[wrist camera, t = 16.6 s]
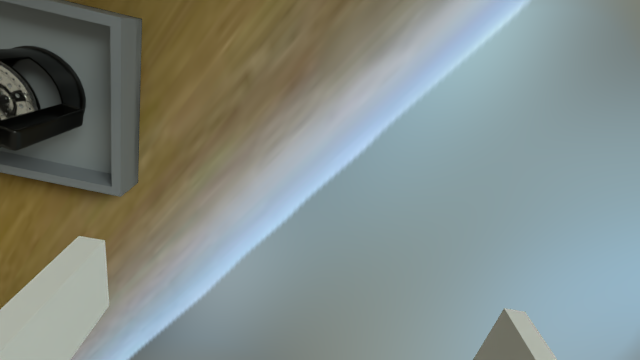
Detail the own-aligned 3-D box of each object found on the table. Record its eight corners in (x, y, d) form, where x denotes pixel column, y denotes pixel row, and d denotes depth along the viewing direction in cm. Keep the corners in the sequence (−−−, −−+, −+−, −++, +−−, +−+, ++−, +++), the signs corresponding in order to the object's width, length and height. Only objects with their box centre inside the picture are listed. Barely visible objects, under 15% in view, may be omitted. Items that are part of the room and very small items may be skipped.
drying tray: (-51, -28, 35) (-96, -35, 31) (141, 19, 36) (121, 17, 33) (-22, 149, 42) (-55, 161, 39) (137, 182, 44) (120, 196, 40)
